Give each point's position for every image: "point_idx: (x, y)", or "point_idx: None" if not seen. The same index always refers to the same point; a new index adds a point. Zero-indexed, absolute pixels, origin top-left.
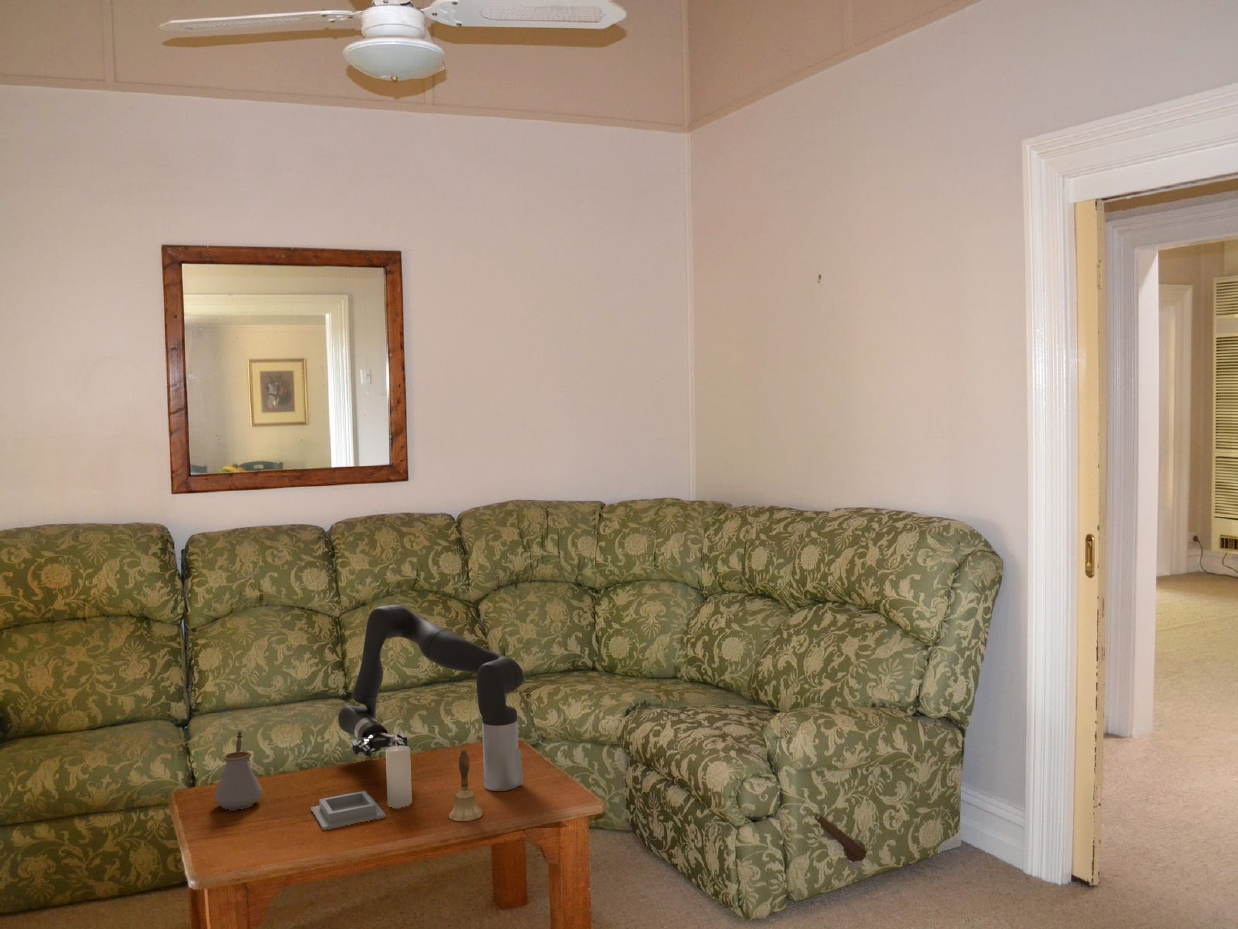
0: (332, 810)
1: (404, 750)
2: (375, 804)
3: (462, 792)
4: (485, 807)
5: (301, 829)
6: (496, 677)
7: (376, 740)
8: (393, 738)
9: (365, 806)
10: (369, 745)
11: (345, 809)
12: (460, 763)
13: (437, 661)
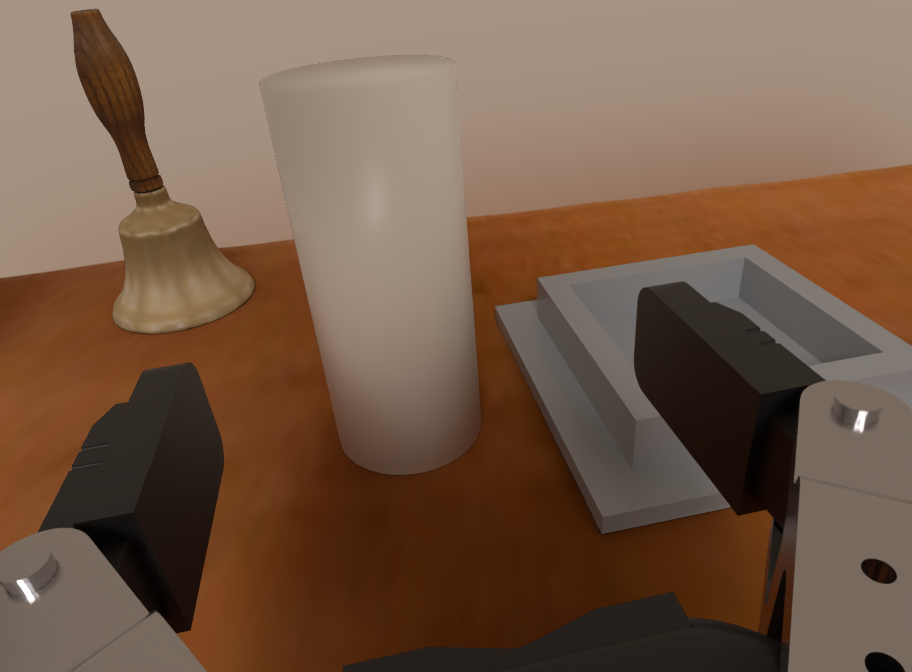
0: None
1: (318, 66)
2: (541, 281)
3: (171, 200)
4: (70, 335)
5: (873, 294)
6: None
7: (619, 647)
8: (129, 624)
9: (589, 272)
10: (775, 592)
11: (685, 263)
12: (132, 67)
13: None
